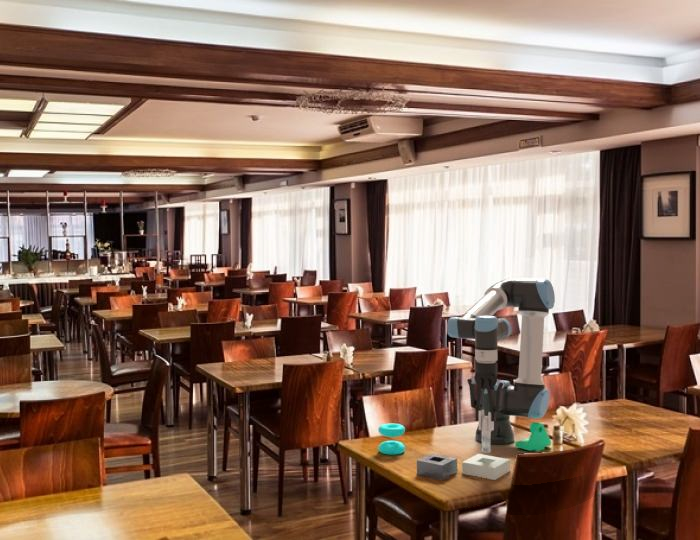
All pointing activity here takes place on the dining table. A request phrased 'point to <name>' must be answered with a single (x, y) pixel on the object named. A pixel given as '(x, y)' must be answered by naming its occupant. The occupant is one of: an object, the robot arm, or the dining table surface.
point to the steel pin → (486, 435)
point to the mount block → (437, 466)
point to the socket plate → (486, 466)
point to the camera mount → (535, 438)
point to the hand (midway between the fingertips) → (486, 429)
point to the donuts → (391, 446)
